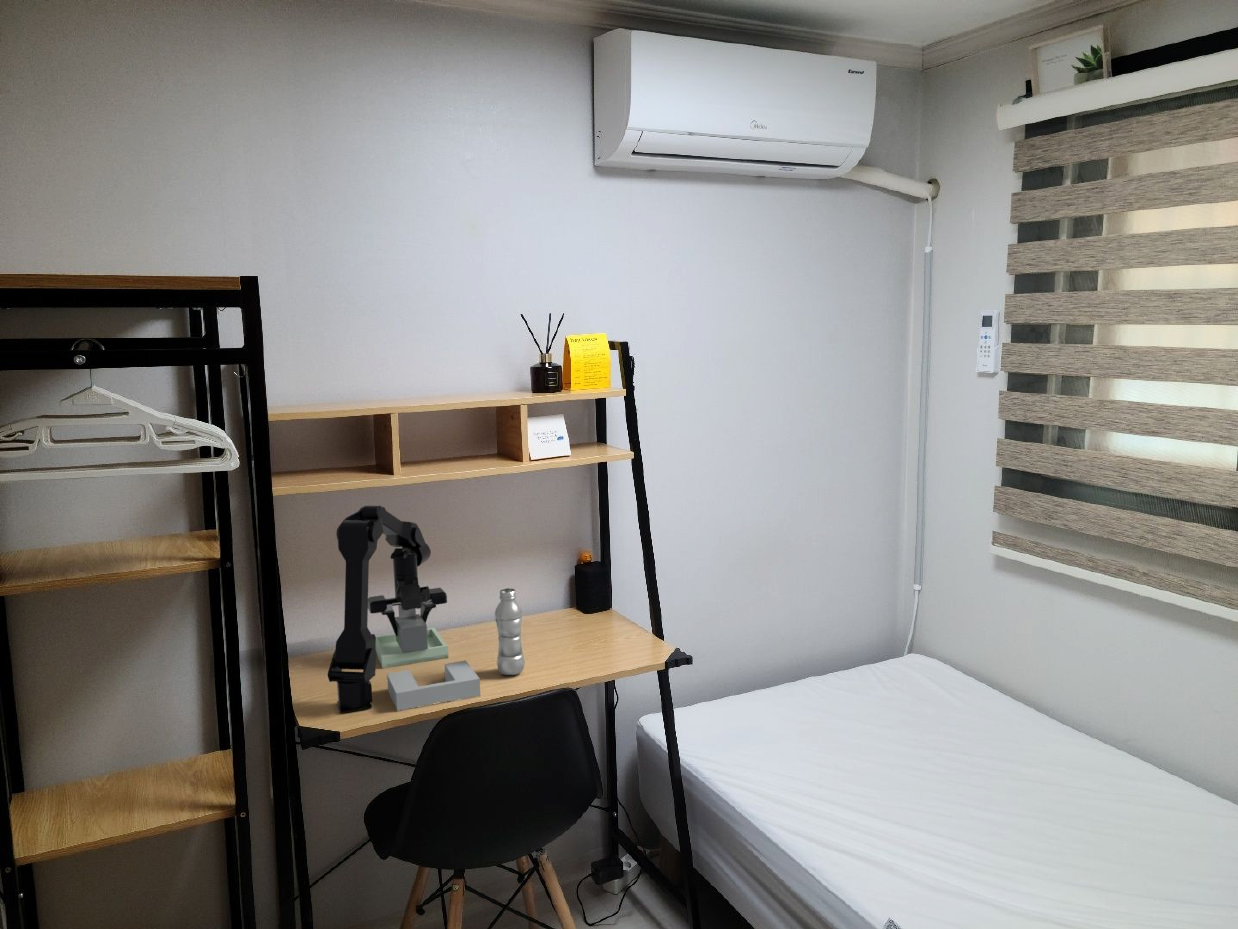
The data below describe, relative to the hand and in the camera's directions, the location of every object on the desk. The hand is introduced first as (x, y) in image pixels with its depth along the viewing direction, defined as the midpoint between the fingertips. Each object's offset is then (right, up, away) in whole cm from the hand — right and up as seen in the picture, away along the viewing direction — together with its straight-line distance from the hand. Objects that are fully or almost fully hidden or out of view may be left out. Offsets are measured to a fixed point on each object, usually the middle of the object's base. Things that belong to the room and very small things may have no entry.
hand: (409, 633), depth 224 cm
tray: (0, -5, +2) cm, 6 cm away
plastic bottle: (+27, -7, -14) cm, 31 cm away
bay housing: (+11, -9, -24) cm, 27 cm away
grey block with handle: (+1, -2, -2) cm, 3 cm away
